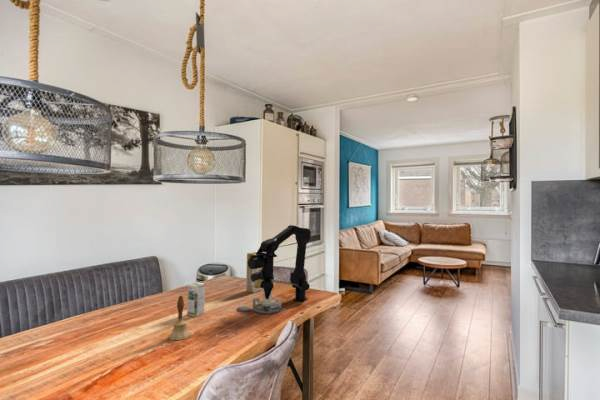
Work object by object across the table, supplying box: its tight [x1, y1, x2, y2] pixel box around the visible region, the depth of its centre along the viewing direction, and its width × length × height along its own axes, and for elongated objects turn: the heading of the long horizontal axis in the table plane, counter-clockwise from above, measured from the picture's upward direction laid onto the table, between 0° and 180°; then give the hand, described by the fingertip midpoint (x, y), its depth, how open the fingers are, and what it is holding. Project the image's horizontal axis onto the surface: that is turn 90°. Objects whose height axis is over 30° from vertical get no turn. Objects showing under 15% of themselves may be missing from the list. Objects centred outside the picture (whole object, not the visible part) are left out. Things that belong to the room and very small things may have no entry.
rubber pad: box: [236, 305, 252, 313], centre depth 158 cm, size 7×7×1 cm
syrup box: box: [186, 281, 206, 318], centre depth 151 cm, size 6×6×14 cm
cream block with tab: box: [256, 289, 278, 305], centre depth 159 cm, size 10×4×6 cm, turn 94°
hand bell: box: [168, 295, 192, 341], centre depth 126 cm, size 8×8×16 cm
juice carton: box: [245, 250, 263, 293], centre depth 191 cm, size 9×8×24 cm
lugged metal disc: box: [252, 297, 282, 315], centre depth 159 cm, size 14×14×5 cm
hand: (267, 297), depth 159 cm, fingers closed on cream block with tab, 4 cm apart
